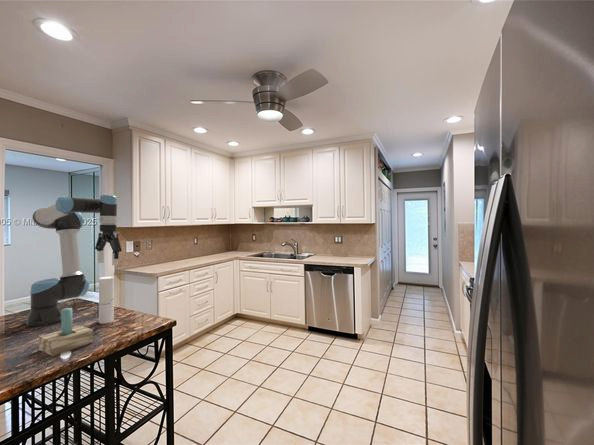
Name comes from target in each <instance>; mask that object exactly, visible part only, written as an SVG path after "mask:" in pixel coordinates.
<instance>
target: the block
mask: <svg viewBox="0 0 594 445" xmlns="http://www.w3.org/2000/svg"><path fill="white" fill-rule="evenodd" d="M72 332H73V334H69V335H66V336H61V330H58V331H54V332H50V333H47V334H44V335H43V334H42V335H40V336H39V339H38V340H39V344H38V345H39V347H38V348H39V349H38V350H39V351H40V352H43V353H45V354H47V355H49V356H51V357H55V356H56V355H60V354H63V353H66V352H68V351H72V350H75V349H79V348H80V347H81V348H82V347H84V346H87V345H90V344H93V343H94V329H91V328H89V327H86V326H84V325H80V324H79V325H77V326H76V325H75V326H72Z"/></svg>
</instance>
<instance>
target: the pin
mask: <svg viewBox="0 0 594 445" xmlns="http://www.w3.org/2000/svg"><path fill="white" fill-rule="evenodd" d="M60 312H61V320H60V322H61V328H60V329H61V330H60V331H61V336H66V335H69V334H73V332H72V327H73V308H72V307H65V308H63V309H61V310H60Z"/></svg>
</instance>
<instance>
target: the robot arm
mask: <svg viewBox="0 0 594 445" xmlns="http://www.w3.org/2000/svg"><path fill="white" fill-rule="evenodd" d="M117 212H118V201H117V196H116V195H112V194H101V195H100V196H99V198H84V197H70V196H69V197H68V196H65V197H63V196H62V197H60V196H59V197H58V198H56V200H55V204H51V205H50V206H48V207H42V208H38V209H37V210H35V211H34V213H33V214H32V221H33V223H34V224H35V225H36V226H38V227H40V228H43V229H49V230H50V229H51V230H52V229H55V233H56V234H58V235H59V245H60V257H61V267H62V268H61V269H62V274H61V275H60V276H59V279H58V278H46V279H41V280H38V281H35V282H33V283H32V284H31V286H30V292H29V293H30V311H29V313H28V315H27V318H26V320H25V321H26V326H28V327H41V326H48V325H52V324H56V323H59V322H61V310H60V308H59V301H63V300H70V299H74V298H75V299H77V298H79V297H83V296H86V294H87V293H88V291H89V288H90V280H89V277H87V276H85V273H84V272H82V270H81V262H80V261H81V260H80V250H79V241H78V233H79V232H80V230H81V228H82V227H83V225H84V217H83V215H82V214H81V213H83V214H84V213H87V214H88V213H90V214H99V218H98V219H99V224H100V225H99V231H100V232H99V233H98V236H97V241H96V243H95V247H94V249H95V250H96V251H97V264H103V263H105V254H104V253H105V247H106V245H107V243H108V244H109V245H110V248H111V249H112V255H111V256H112V257H111V258H112V259H111V260H112V261H111V262H112V266H118V265H119V258H120V256H119V254H120V252H122V251H123V250H122V247H121V243H120V240H119V234H118V233H115V232H117V225H116V224H117V223H118V222H117V219H118V218H117V217H118V216H117Z"/></svg>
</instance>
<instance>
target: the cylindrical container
mask: <svg viewBox="0 0 594 445" xmlns="http://www.w3.org/2000/svg"><path fill="white" fill-rule="evenodd" d="M114 308H115V276H102V277H99V278H98V323H99V324H109V323H112V322H114V321H115V320H114V319H115V316H114V314H115V313H114V312H115V311H114V310H115V309H114Z"/></svg>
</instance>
